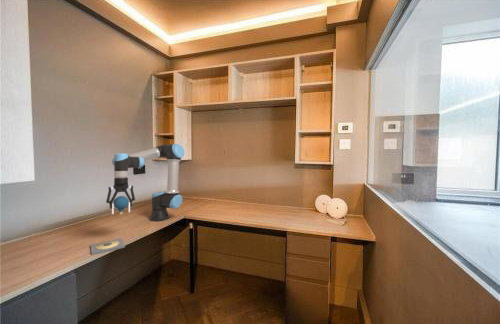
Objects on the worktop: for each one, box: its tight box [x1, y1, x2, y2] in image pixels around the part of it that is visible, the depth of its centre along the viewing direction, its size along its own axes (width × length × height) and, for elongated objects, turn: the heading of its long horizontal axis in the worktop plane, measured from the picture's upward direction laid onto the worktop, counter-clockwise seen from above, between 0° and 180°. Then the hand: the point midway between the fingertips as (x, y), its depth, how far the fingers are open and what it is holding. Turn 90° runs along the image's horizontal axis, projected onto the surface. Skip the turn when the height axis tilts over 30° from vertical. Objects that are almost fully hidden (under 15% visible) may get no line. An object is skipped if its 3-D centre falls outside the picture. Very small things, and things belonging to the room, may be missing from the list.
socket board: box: [90, 237, 126, 256], centre depth 129 cm, size 16×15×2 cm
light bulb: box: [113, 195, 129, 216], centre depth 137 cm, size 8×8×12 cm
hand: (121, 212), depth 137 cm, fingers closed on light bulb, 8 cm apart
